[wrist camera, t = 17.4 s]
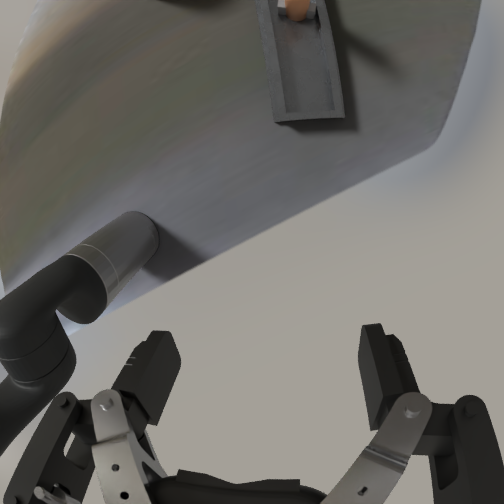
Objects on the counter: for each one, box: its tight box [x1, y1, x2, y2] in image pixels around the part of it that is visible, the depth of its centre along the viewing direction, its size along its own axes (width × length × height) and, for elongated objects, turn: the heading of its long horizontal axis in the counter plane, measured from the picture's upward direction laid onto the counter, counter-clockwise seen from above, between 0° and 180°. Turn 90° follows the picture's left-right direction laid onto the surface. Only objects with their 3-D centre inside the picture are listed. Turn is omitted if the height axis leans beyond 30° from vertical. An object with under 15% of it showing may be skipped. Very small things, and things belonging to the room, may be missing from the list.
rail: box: [255, 0, 345, 122], centre depth 30 cm, size 10×24×4 cm, turn 8°
